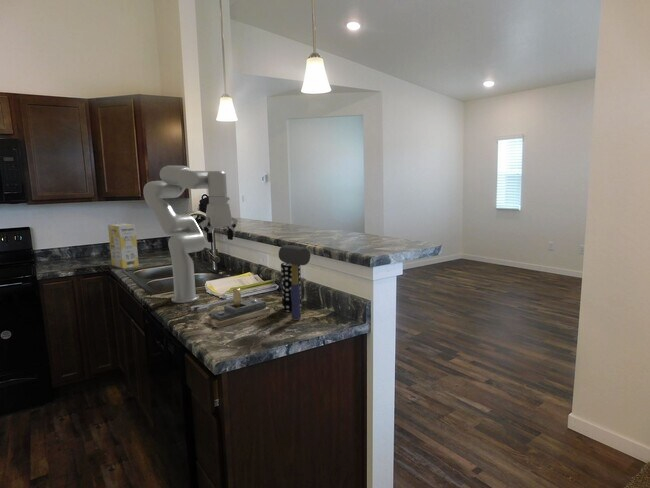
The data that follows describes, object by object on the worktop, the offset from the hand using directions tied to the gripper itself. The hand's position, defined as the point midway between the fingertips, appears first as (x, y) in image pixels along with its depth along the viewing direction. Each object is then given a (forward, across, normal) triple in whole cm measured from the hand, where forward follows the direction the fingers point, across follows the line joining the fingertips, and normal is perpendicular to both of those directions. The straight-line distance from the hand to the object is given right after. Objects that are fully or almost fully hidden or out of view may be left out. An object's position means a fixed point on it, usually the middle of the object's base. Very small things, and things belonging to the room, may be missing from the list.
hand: (220, 240), depth 182 cm
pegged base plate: (+28, +2, +14) cm, 32 cm away
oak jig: (+30, +2, +14) cm, 33 cm away
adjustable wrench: (+31, -1, -8) cm, 32 cm away
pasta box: (+31, -9, -140) cm, 144 cm away
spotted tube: (+31, -20, +22) cm, 43 cm away
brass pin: (+28, +2, +14) cm, 32 cm away
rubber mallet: (+31, -12, +34) cm, 47 cm away
